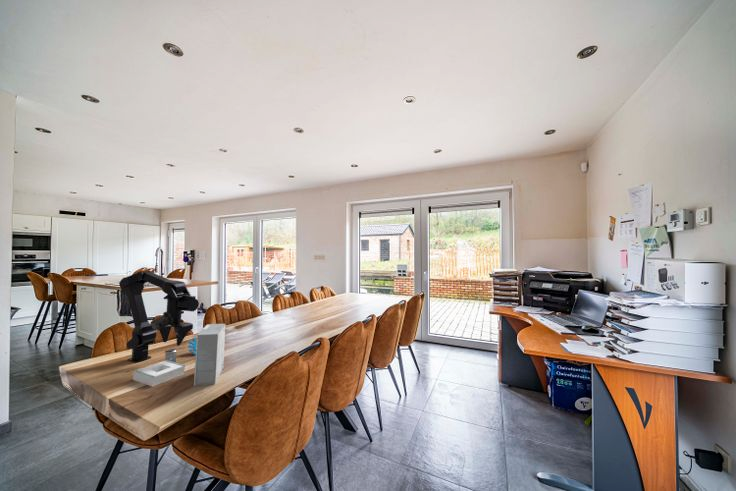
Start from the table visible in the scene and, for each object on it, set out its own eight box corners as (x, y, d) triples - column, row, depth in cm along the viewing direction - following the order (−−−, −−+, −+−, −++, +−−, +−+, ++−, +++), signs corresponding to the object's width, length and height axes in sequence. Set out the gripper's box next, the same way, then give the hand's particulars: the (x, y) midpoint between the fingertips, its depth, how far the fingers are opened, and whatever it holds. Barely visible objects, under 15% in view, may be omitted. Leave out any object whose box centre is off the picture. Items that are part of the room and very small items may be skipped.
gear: (188, 354, 129) (188, 335, 135) (184, 360, 131) (184, 342, 137) (213, 352, 136) (212, 335, 142) (209, 358, 139) (208, 341, 145)
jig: (133, 379, 105) (133, 370, 106) (165, 368, 117) (166, 359, 117) (152, 386, 101) (153, 376, 101) (184, 374, 112) (184, 365, 112)
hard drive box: (204, 369, 117) (207, 323, 118) (223, 368, 120) (226, 323, 120) (192, 386, 103) (196, 334, 103) (215, 384, 105) (218, 333, 106)
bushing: (161, 364, 120) (162, 351, 120) (172, 361, 124) (173, 348, 125) (168, 366, 118) (169, 353, 119) (179, 363, 123) (179, 349, 123)
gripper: (141, 309, 118) (138, 345, 118) (169, 315, 111) (166, 353, 111) (167, 305, 129) (165, 338, 128) (195, 310, 122) (192, 345, 121)
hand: (171, 343), depth 122 cm, fingers open, 9 cm apart
